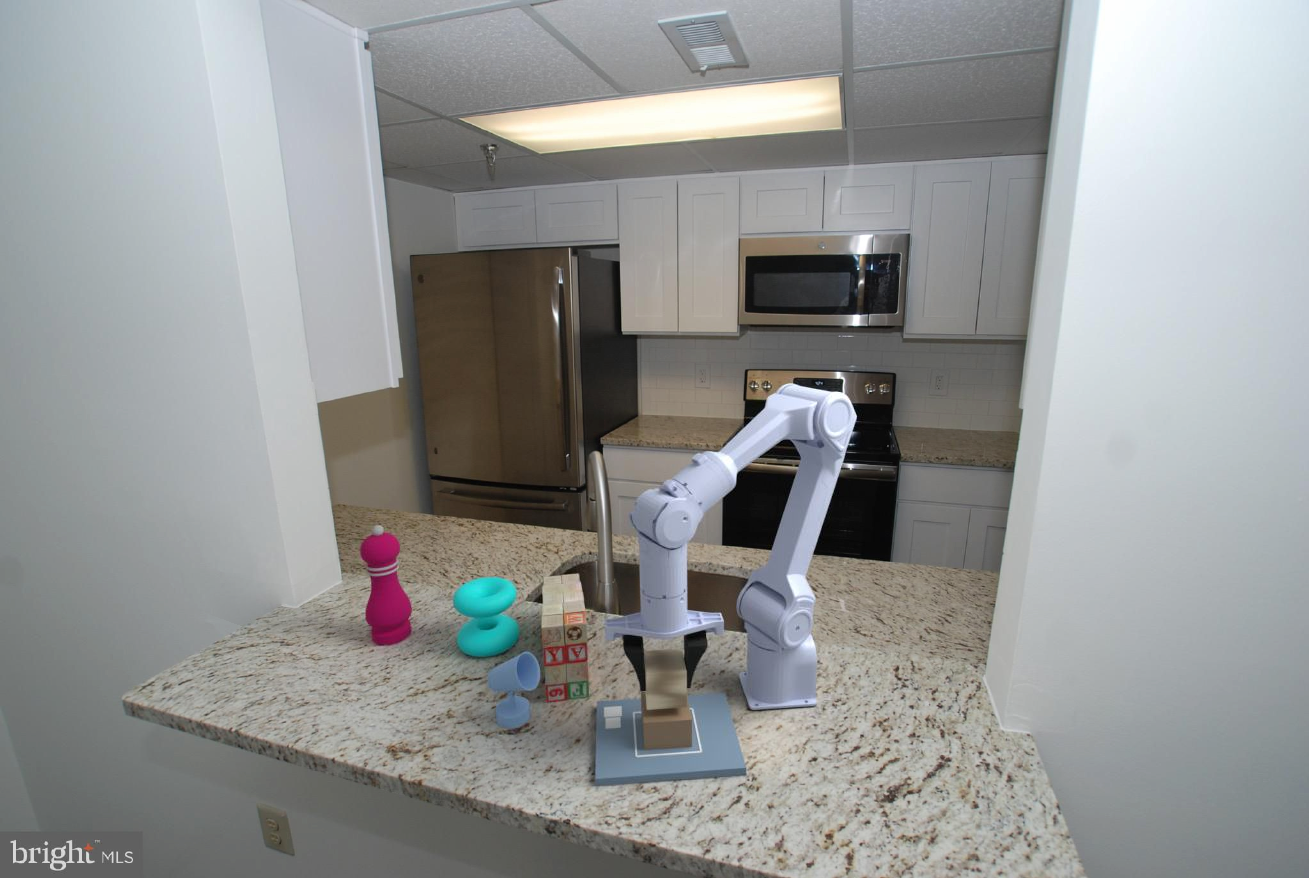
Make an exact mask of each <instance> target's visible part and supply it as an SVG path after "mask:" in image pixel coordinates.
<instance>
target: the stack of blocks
mask: <svg viewBox="0 0 1309 878" xmlns="http://www.w3.org/2000/svg"><path fill="white" fill-rule="evenodd" d="M542 580H543V581H542V582H543V585H542V586H541V591H542V592H541V593H542V597H541V598H542V606H541V623H540V625H541V626H540V627H541V641H542V655H543V656H542V658H543V659H542V660H543V667H544V689H545V691H544V692H545V702H546V703H548V704H549V703H556V702H557V703H558V702H565V701H572V700H581V699H588V698H589V699H590V678H589V677H590V676H589V650H588V645H589V644H588V625H587V624H588V623H587V622H588V621H587V615H586V607H585V597H584V592H583V587H582V582H581V580H580V574H579V573H570V574H562V575H552V576H550V575H549V576H543V578H542Z"/></svg>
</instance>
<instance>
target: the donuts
mask: <svg viewBox="0 0 1309 878" xmlns="http://www.w3.org/2000/svg"><path fill="white" fill-rule="evenodd" d="M516 599H517V588H516V586H515V585H514V583H513V582H512V581H510V580H508V579H506V578H504V577H497V576H496V577H495V576H487V577H486V576H484V577H481V578H479V577H478V578H475V579H473V580H470V581H467V582H466V583H463V584H462V585H461V586H459V588H457V589H456V590H455V592H454V593H453V596H452V605H453V608H454V609H455V610H456V611H457V612H458V613H459V614H460V615H462V616H464V617H467V618H470V619H471V620H468V621H467V622H466V623H465V624H463V625H462V627H461V628H460V630H459V631H458V634H457V637H456V641H457V643H456V644H457V645H458V648H459V649H460V650H461V651H462V652H463V653H464V654H466V655H468V656H472V657H475V658H487V657H488V658H489V657H492V656H496V655H500V654H502V653H504V652H506V651H508V650H509V649H510V648H512V647H513V646H514V645H515V644H516V643H517V642H518V640H519V637H520V633H521V631H520V627H519V624H518V622H517V621H516V620H515V619H514V618H512V617H511V616H509V615H505V614H503V613H504V612H506V611H507V610H508V609H510V608H511V606H513V604H514V602H515V601H516Z"/></svg>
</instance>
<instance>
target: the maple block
mask: <svg viewBox="0 0 1309 878" xmlns="http://www.w3.org/2000/svg"><path fill="white" fill-rule="evenodd" d="M644 671H645V681H646V691H644V692H645V697H646V708H647V710H653V709H668V708H683V707H687V695H688V689H687V671H686V666H685V661H684V651H683V648H671V649H654V650H650V649H649V650H644Z"/></svg>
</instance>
